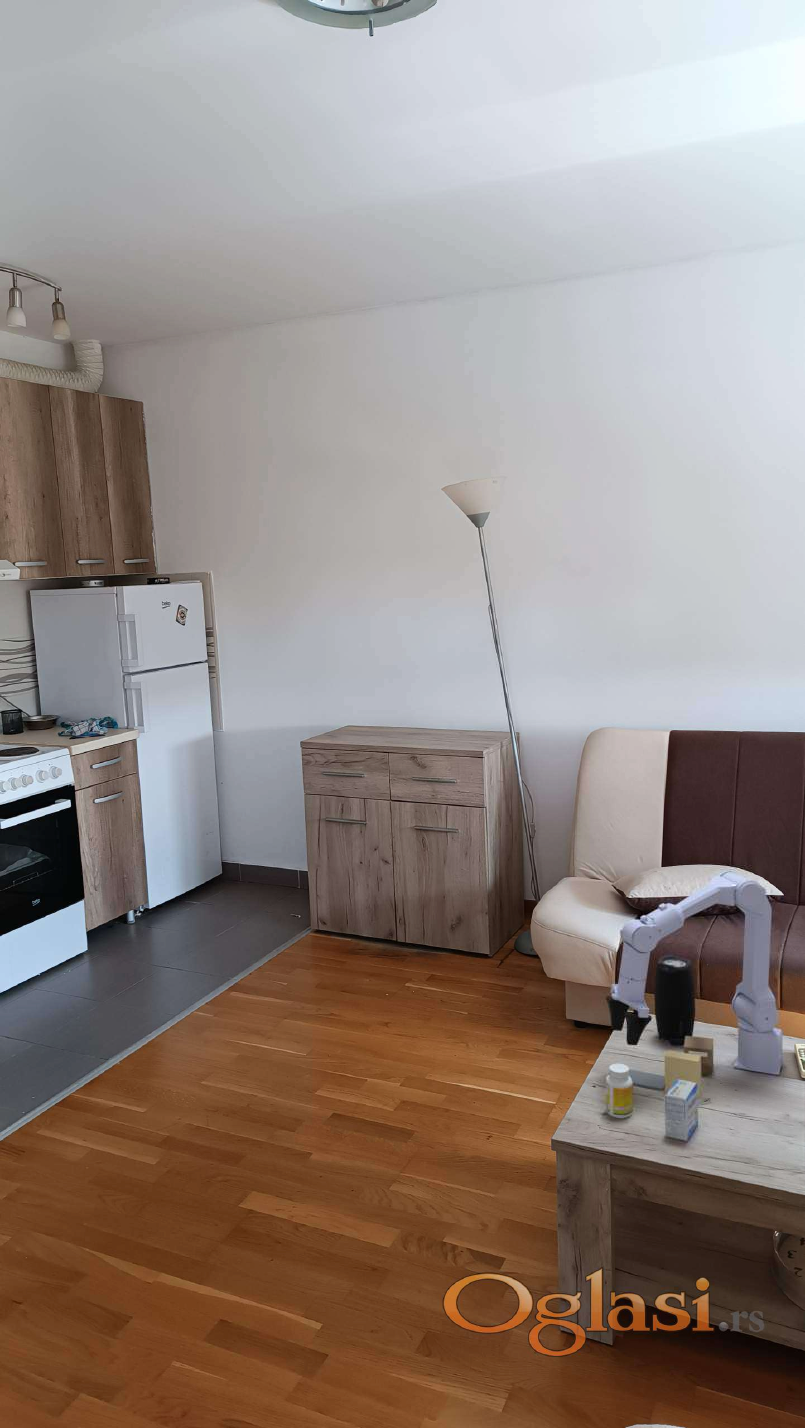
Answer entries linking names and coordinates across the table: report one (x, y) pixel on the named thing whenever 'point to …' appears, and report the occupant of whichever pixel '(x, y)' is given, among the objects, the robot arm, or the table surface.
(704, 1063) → the letter cube
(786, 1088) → the table surface
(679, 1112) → the medicine box
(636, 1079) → the mat
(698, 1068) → the cream rectangular block
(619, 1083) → the supplement bottle
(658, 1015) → the portable speaker
